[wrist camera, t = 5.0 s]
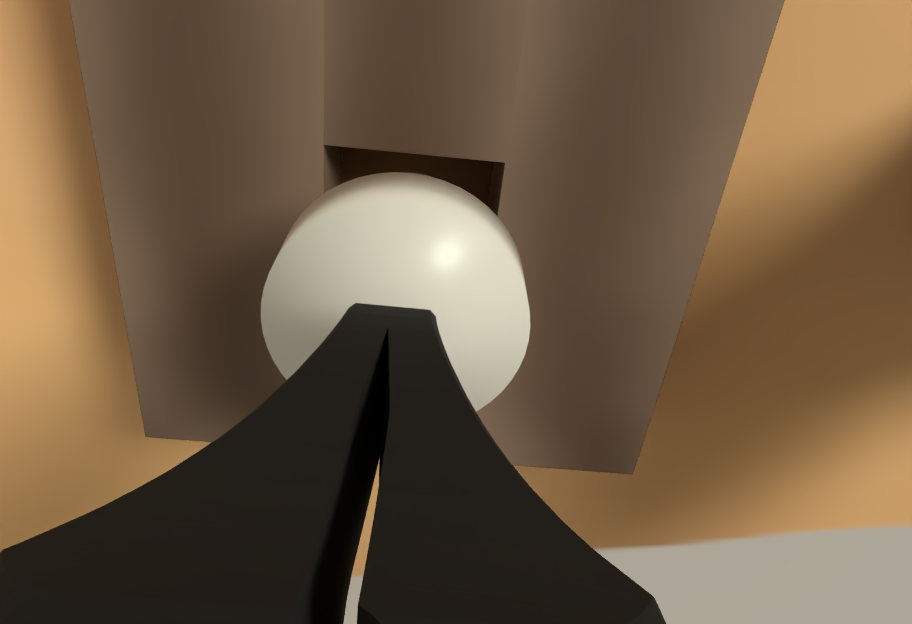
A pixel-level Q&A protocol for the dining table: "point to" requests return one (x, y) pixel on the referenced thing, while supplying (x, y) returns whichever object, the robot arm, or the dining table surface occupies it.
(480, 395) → the button
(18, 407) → the dining table surface
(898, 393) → the dining table surface
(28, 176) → the dining table surface
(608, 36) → the console
